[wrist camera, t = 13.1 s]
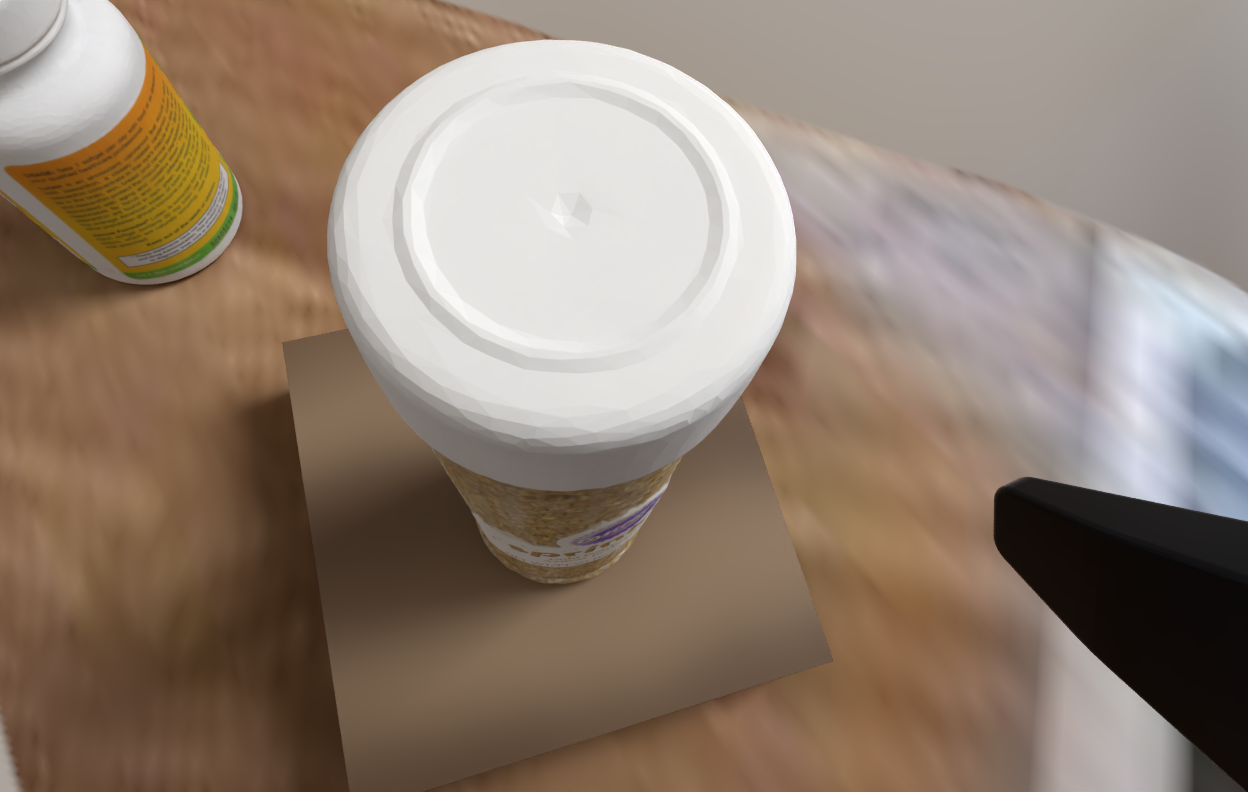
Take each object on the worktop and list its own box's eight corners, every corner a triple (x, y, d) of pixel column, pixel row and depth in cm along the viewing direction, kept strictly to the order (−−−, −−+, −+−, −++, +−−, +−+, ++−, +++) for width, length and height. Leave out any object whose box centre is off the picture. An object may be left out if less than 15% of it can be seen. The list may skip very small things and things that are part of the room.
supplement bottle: (272, 171, 25) (109, -100, 16) (207, 307, 24) (-16, 89, 14) (121, 134, 25) (-128, -158, 16) (44, 267, 24) (-284, 22, 14)
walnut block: (797, 659, 21) (833, 661, 19) (382, 790, 19) (352, 814, 17) (677, 300, 25) (692, 255, 22) (316, 380, 23) (282, 342, 20)
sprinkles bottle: (558, 623, 18) (561, 565, 6) (437, 495, 19) (201, 192, 6) (681, 497, 20) (906, 222, 7) (563, 382, 20) (573, -53, 8)
